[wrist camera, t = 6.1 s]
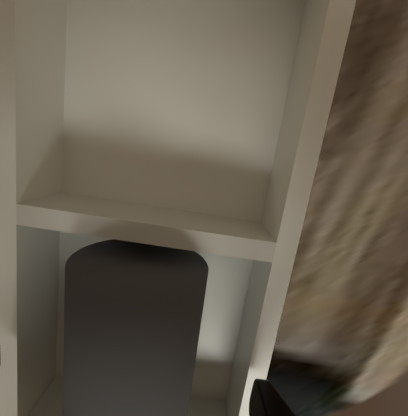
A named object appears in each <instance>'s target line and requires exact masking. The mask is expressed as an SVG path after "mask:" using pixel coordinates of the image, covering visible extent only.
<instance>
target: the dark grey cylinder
mask: <svg viewBox="0 0 408 416" xmlns="http://www.w3.org/2000/svg"><path fill="white" fill-rule="evenodd" d="M208 271H209V269H208V265H207V262H206V261H205V260H204V258H203V257H202V256H201V255H199V254H198V253H197V252H195V251H190V250H183V249H177V248H170V247H163V246H156V245H150V244H143V243H136V242H130V241H123V240H116V239H112V240H106V241H101V242H97V243H94V244H91V245H88V246H85V247H83V248H81V249H79V250H78V251H76V252H74V253H73V254H72V255H71V256H70V257H69V258H68V260H67V262H66V264H65V294H64V349H63V403H62V416H188V410H189V403H190V396H191V389H192V382H193V375H194V368H195V361H196V354H197V347H198V340H199V333H200V326H201V319H202V313H203V306H204V299H205V292H206V285H207V278H208Z"/></svg>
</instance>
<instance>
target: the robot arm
mask: <svg viewBox="0 0 408 416" xmlns="http://www.w3.org/2000/svg"><path fill="white" fill-rule="evenodd" d="M0 364H1V359H0ZM249 416H295V415H294V413H293V412H292V411H291V409H290V408H289V406H288V405H287V404H286V402H285V401H284V400H283V398H282V397H281V396H280V394H279V393H278V392H277V390H276V389H275V388H274V386H273V385H272V383H271V382H270V381H269V380H265V379H258V378H257V379H255V380H254V383H253V387H252V391H251V396H250V400H249Z"/></svg>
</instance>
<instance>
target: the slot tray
mask: <svg viewBox="0 0 408 416" xmlns="http://www.w3.org/2000/svg"><path fill="white" fill-rule="evenodd" d="M355 4H356V0H0V359H1V364H0V416H62V403H63V349H64V294H65V264H66V262H67V260H68V258H69V257H70V256H71V255H72V254H73V253H74V252H76V251H78V250H79V249H81V248H83V247H85V246H88V245H91V244H94V243H97V242H101V241H106V240H112V239H116V240H123V241H130V242H136V243H143V244H150V245H156V246H163V247H170V248H177V249H183V250H190V251H195V252H197V253H198V254H199V255H201V256H202V257H203V258H204V260H205V261H206V262H207V265H208V269H209V271H208V278H207V285H206V292H205V299H204V306H203V313H202V319H201V326H200V333H199V340H198V347H197V354H196V361H195V368H194V375H193V382H192V389H191V396H190V403H189V410H188V416H249V400H250V396H251V391H252V387H253V383H254V380H255V379H257V378H258V379H265V380H266V378H267V373H268V369H269V365H270V361H271V357H272V352H273V348H274V344H275V340H276V336H277V331H278V327H279V323H280V319H281V315H282V310H283V306H284V302H285V298H286V294H287V289H288V285H289V281H290V277H291V273H292V269H293V264H294V260H295V256H296V252H297V248H298V243H299V239H300V235H301V231H302V227H303V222H304V218H305V214H306V210H307V206H308V201H309V197H310V193H311V189H312V185H313V180H314V176H315V172H316V168H317V164H318V159H319V155H320V151H321V147H322V143H323V138H324V134H325V130H326V126H327V122H328V117H329V113H330V109H331V105H332V101H333V96H334V92H335V88H336V84H337V80H338V75H339V71H340V67H341V63H342V59H343V54H344V50H345V46H346V42H347V38H348V33H349V29H350V25H351V21H352V17H353V13H354V8H355Z"/></svg>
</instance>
